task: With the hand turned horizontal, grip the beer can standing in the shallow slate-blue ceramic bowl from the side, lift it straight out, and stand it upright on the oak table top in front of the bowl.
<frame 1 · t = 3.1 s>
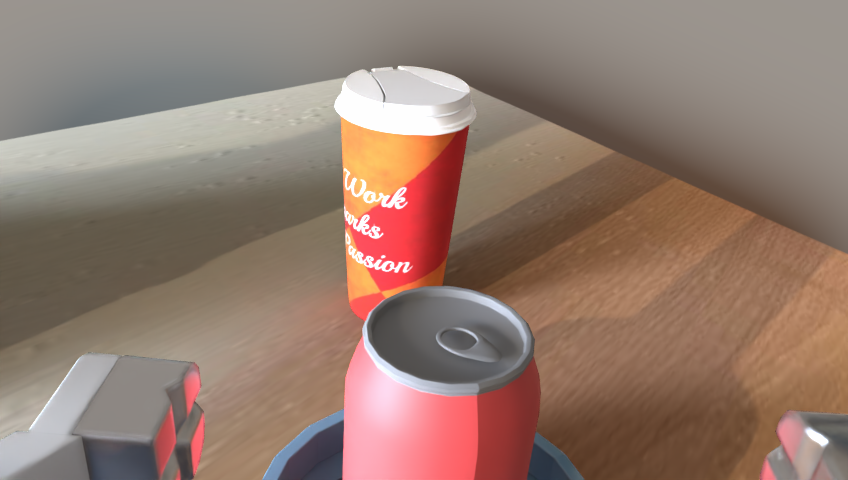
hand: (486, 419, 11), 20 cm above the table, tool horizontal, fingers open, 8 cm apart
paper cup: (394, 305, 48), on the table
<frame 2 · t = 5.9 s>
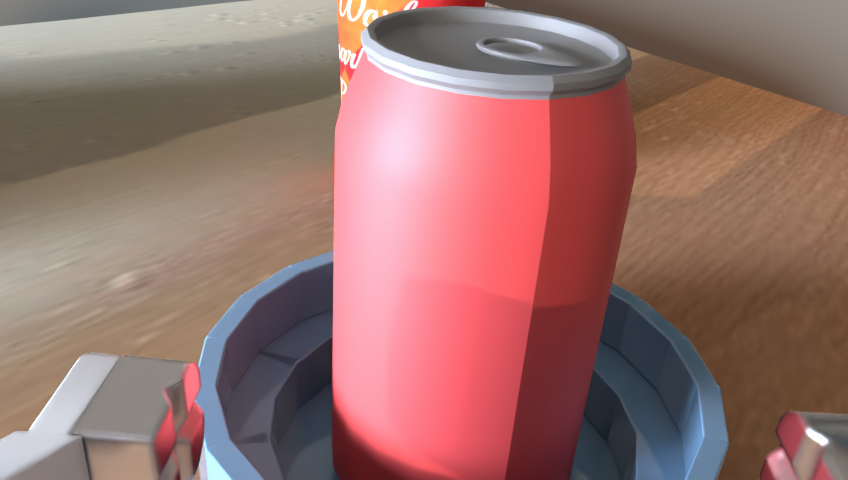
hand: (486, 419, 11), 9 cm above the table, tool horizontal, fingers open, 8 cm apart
bowl: (447, 474, 22), on the table
paper cup: (401, 182, 39), on the table
beer can: (448, 469, 22), resting on bowl
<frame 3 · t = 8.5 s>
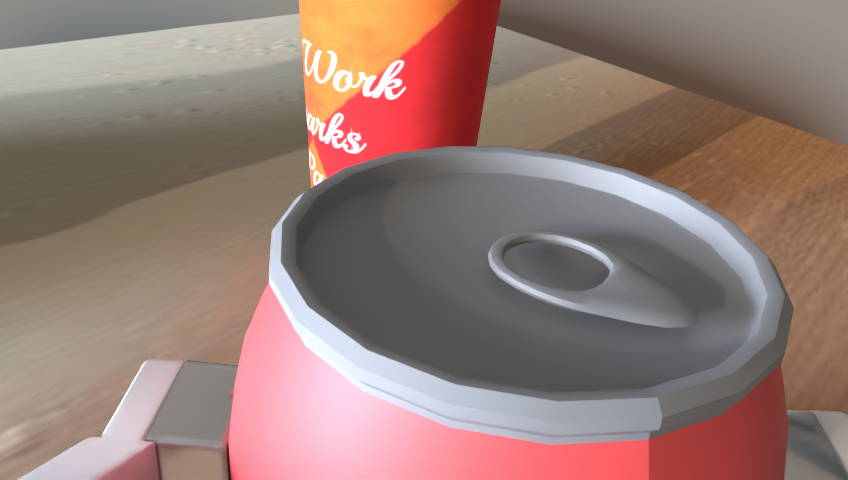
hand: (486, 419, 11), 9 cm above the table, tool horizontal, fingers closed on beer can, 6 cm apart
paper cup: (386, 270, 32), on the table
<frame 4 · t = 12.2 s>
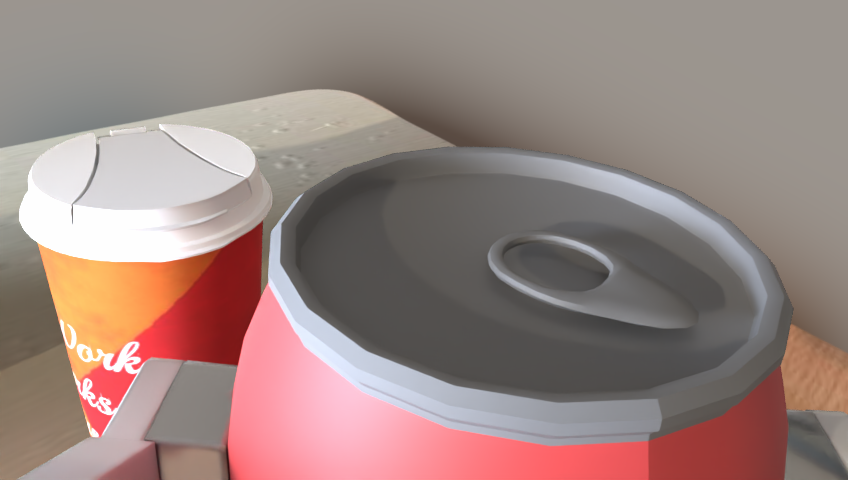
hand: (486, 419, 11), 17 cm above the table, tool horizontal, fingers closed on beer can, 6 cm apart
when the fingers open (9 cm above the table, at t = 16.2 s): beer can stays where it is, on the table.
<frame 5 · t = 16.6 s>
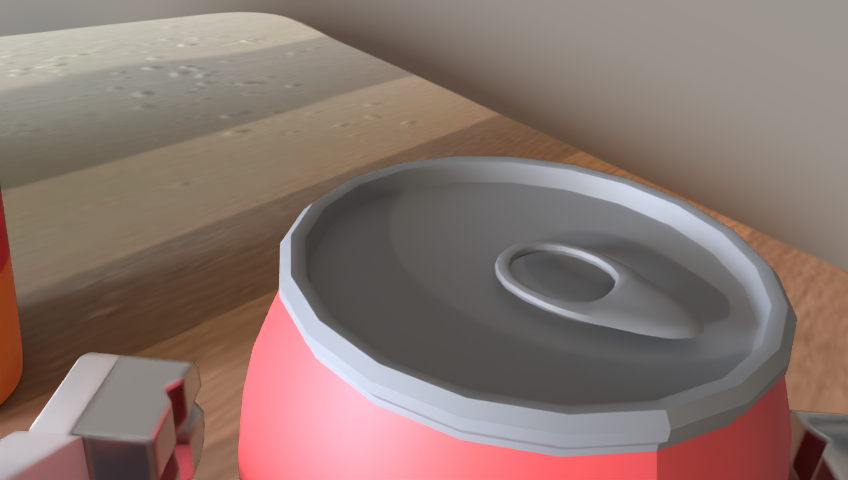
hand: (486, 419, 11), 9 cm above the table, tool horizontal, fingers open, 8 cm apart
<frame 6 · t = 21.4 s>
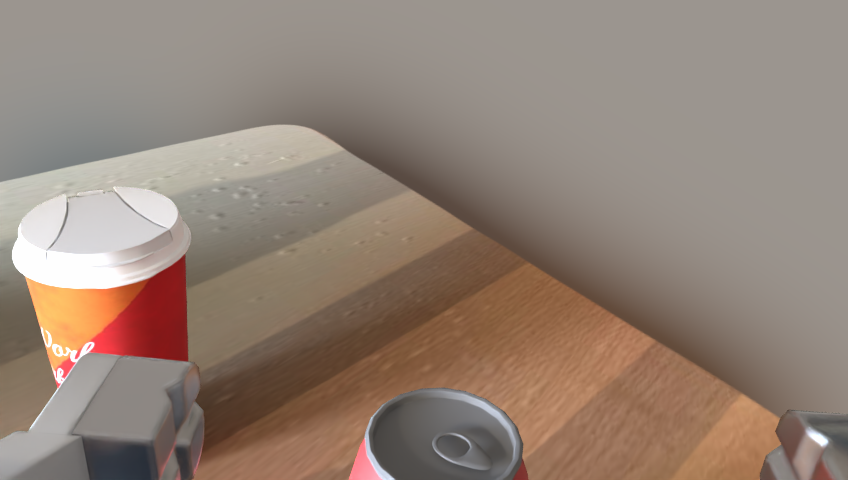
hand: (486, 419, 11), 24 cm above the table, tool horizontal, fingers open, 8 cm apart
paper cup: (136, 450, 42), on the table
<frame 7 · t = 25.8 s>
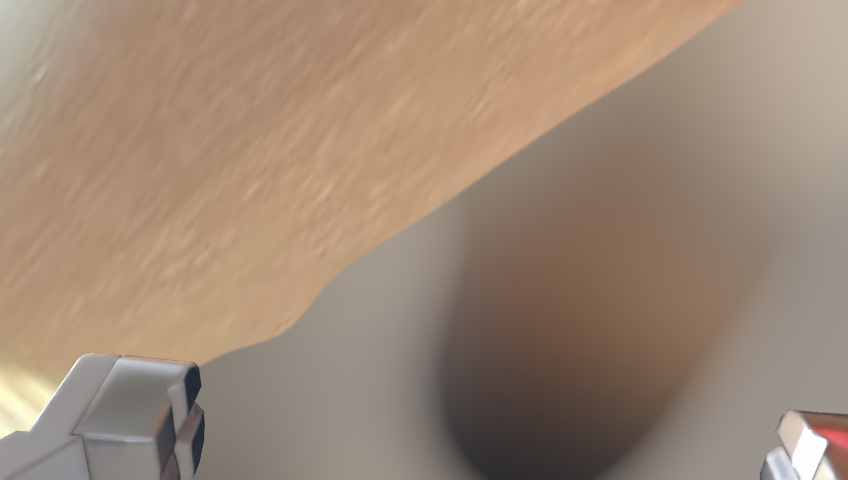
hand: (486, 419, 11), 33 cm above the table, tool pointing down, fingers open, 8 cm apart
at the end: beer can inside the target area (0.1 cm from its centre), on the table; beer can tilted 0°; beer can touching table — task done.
